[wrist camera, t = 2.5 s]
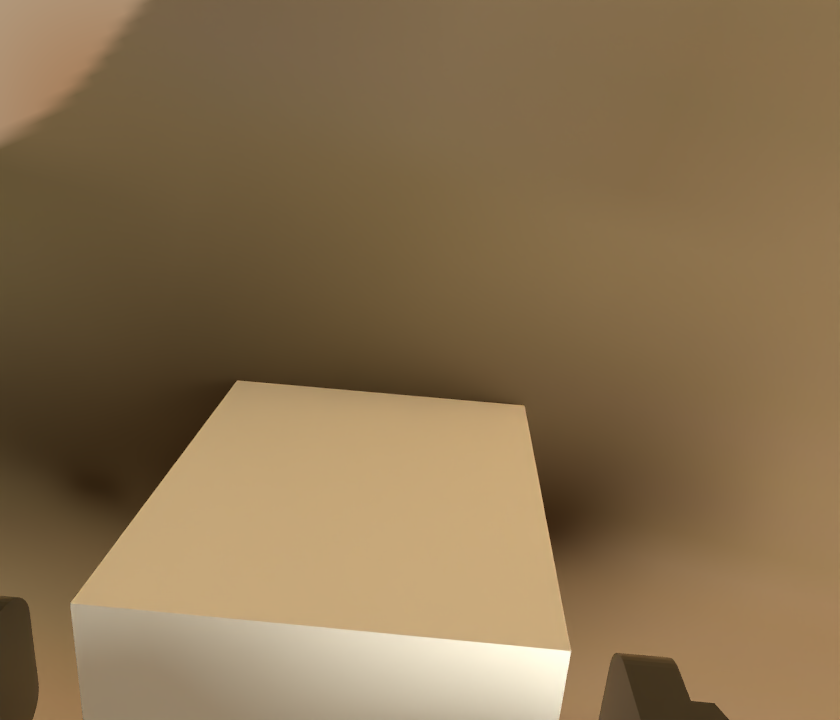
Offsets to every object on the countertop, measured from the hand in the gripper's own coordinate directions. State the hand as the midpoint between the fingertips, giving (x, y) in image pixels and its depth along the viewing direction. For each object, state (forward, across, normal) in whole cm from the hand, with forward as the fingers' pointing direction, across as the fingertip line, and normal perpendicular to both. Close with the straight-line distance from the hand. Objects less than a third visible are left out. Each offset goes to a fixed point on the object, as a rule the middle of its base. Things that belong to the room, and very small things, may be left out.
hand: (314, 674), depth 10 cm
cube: (+4, 0, 0) cm, 4 cm away
